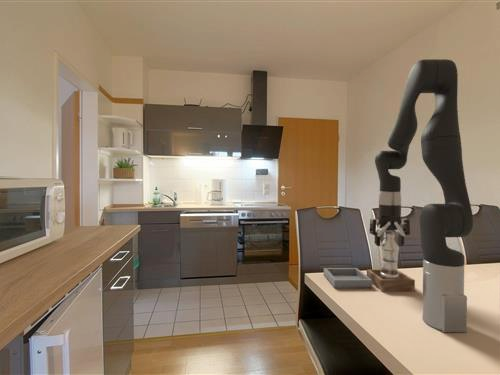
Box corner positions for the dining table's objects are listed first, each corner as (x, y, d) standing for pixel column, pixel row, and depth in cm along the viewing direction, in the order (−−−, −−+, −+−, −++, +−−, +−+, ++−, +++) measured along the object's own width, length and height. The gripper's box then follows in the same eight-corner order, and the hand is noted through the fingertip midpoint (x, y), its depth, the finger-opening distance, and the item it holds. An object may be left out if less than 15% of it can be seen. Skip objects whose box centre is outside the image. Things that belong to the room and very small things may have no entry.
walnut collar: (414, 291, 96) (414, 280, 96) (381, 291, 96) (381, 280, 96) (396, 279, 108) (396, 269, 108) (366, 279, 108) (366, 269, 108)
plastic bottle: (394, 281, 105) (394, 231, 105) (402, 288, 98) (402, 234, 98) (377, 281, 106) (377, 231, 105) (384, 288, 99) (384, 234, 99)
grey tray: (372, 288, 99) (372, 280, 99) (334, 288, 99) (334, 280, 99) (356, 275, 113) (356, 268, 113) (323, 275, 113) (323, 268, 113)
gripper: (375, 204, 98) (375, 248, 98) (414, 204, 98) (414, 248, 98) (366, 202, 105) (366, 243, 106) (402, 202, 105) (402, 243, 106)
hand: (389, 245), depth 102 cm, fingers open, 8 cm apart
